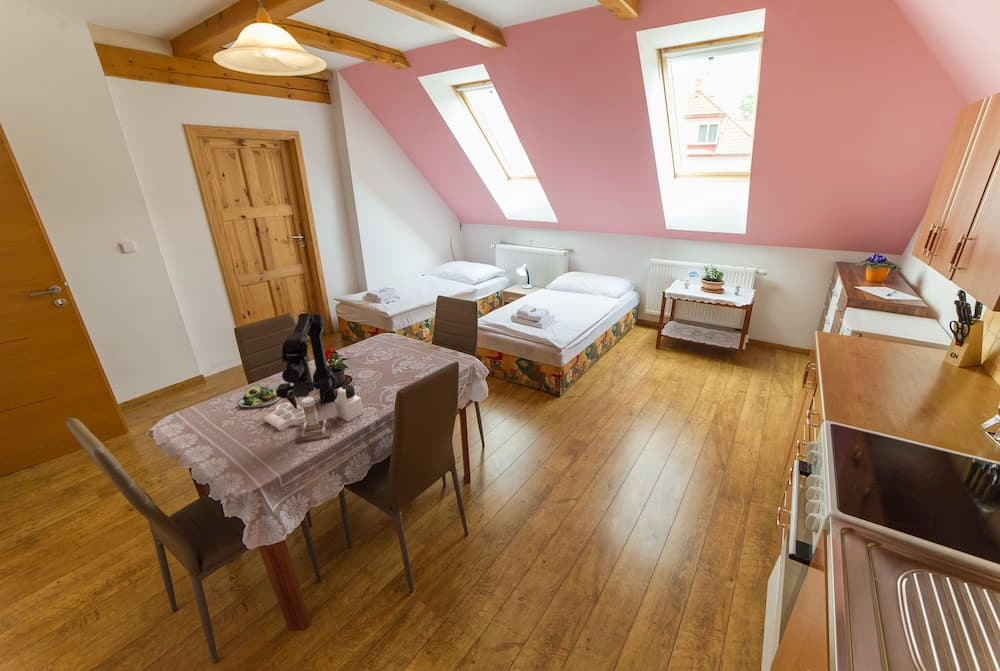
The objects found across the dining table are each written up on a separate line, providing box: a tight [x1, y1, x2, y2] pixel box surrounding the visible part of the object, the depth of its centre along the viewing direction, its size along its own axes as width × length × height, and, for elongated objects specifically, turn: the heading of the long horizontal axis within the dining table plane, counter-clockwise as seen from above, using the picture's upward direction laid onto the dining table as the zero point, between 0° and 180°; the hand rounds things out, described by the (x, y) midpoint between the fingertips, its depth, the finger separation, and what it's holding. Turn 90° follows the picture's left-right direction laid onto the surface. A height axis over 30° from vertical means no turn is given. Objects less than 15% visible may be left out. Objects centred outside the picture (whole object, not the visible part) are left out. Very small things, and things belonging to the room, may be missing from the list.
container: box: [334, 384, 364, 422], centre depth 174 cm, size 8×8×13 cm
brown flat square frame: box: [295, 417, 334, 444], centre depth 166 cm, size 13×12×2 cm
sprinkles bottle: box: [300, 396, 320, 431], centre depth 164 cm, size 5×5×13 cm
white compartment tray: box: [263, 402, 306, 431], centre depth 175 cm, size 3×18×15 cm
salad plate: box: [238, 385, 282, 409], centre depth 191 cm, size 19×18×5 cm
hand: (309, 406), depth 162 cm, fingers open, 9 cm apart
